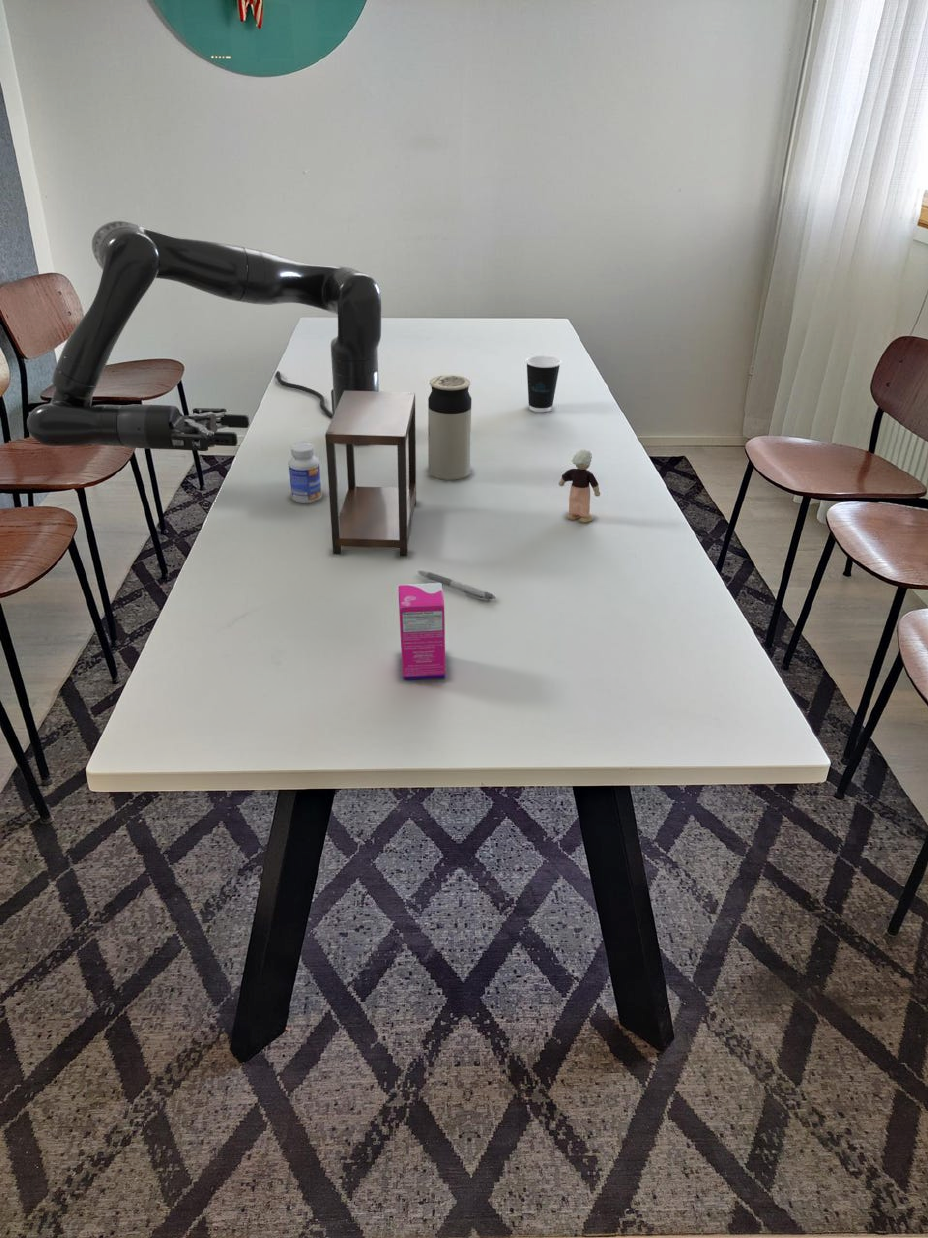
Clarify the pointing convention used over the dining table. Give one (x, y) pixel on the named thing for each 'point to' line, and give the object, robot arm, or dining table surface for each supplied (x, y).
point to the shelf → (373, 509)
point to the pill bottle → (304, 474)
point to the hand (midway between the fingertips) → (242, 430)
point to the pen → (459, 586)
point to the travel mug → (449, 427)
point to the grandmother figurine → (580, 486)
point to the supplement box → (422, 631)
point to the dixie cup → (542, 381)
